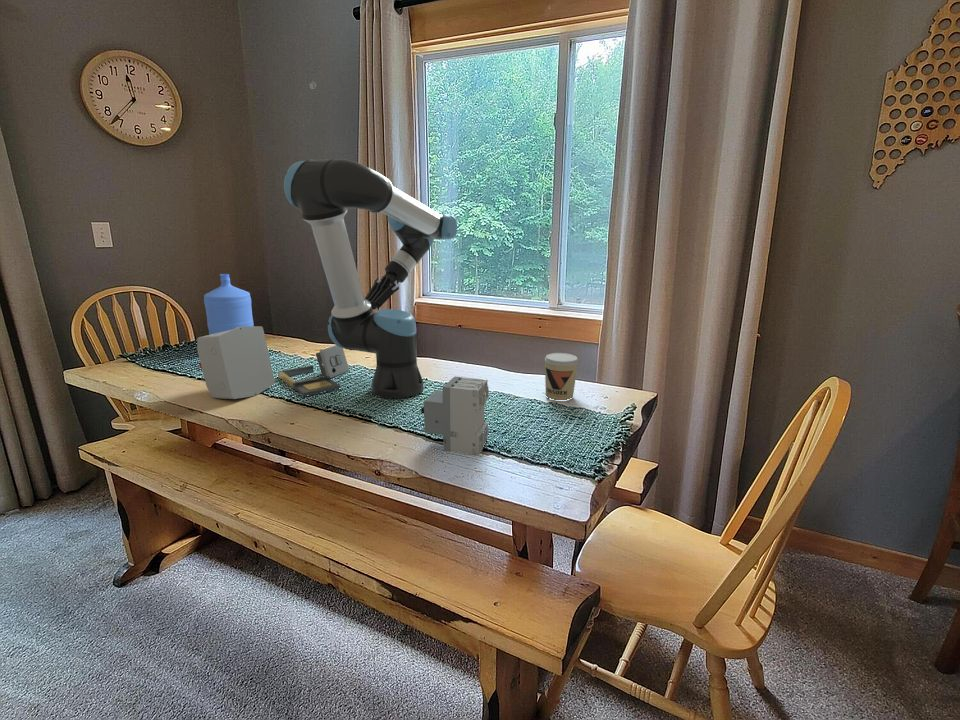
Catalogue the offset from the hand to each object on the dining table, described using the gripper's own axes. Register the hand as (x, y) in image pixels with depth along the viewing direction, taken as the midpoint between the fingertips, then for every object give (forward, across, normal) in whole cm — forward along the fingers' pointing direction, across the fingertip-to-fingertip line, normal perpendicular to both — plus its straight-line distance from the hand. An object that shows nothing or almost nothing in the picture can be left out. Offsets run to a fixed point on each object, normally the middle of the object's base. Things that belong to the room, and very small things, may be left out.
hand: (357, 321), depth 164 cm
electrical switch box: (+39, +2, +16) cm, 42 cm away
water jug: (+30, +52, +7) cm, 61 cm away
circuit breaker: (+18, -65, -5) cm, 68 cm away
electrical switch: (+18, 0, -5) cm, 19 cm away
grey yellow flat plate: (+25, -4, +2) cm, 25 cm away
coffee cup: (-12, -59, -35) cm, 70 cm away
